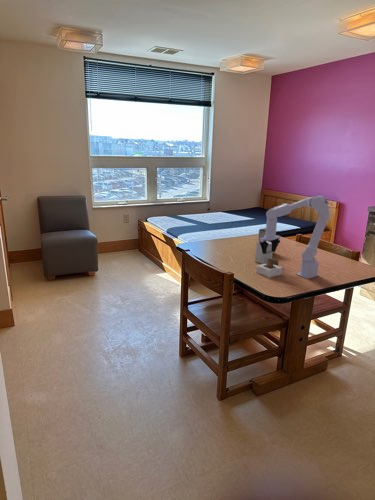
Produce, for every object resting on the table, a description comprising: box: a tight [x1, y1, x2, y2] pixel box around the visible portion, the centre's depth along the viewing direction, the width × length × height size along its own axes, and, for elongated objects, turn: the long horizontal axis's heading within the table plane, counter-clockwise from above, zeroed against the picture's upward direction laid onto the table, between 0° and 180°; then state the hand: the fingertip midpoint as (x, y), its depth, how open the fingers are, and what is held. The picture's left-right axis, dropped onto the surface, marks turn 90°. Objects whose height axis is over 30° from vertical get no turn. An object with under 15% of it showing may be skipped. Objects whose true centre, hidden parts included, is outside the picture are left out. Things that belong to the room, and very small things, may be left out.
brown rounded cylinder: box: [266, 258, 275, 269], centre depth 193 cm, size 4×4×8 cm
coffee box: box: [257, 227, 271, 242], centre depth 232 cm, size 9×6×16 cm
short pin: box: [273, 259, 279, 266], centre depth 204 cm, size 4×4×4 cm
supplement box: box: [254, 241, 274, 265], centre depth 211 cm, size 7×7×13 cm
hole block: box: [255, 264, 284, 279], centre depth 193 cm, size 10×10×4 cm
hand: (268, 252), depth 200 cm, fingers open, 7 cm apart
